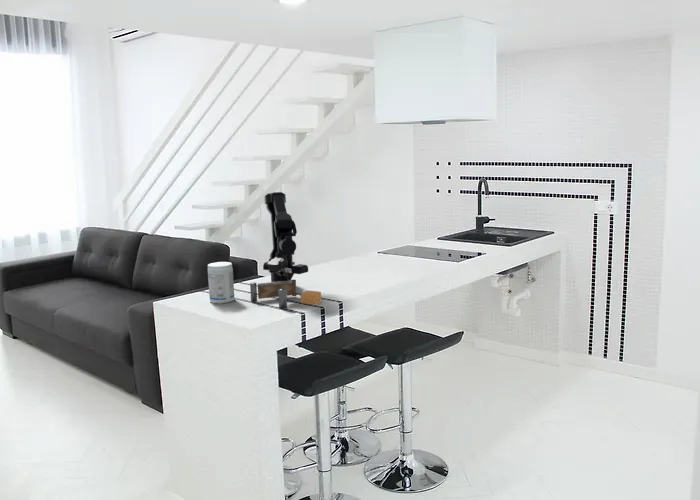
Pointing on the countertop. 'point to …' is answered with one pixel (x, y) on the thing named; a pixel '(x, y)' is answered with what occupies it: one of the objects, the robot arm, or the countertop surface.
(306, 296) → the orange-brown rectangular block
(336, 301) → the countertop surface
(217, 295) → the supplement tub
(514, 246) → the countertop surface
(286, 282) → the gate
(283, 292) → the gate posts
